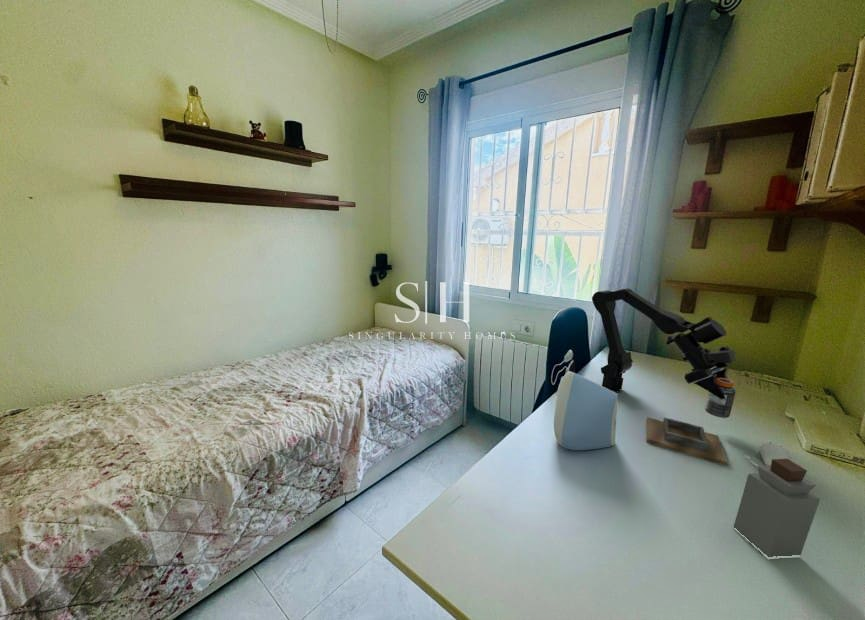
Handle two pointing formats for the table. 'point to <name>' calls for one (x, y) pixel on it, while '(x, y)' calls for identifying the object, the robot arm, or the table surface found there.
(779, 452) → the woman figurine
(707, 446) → the socket plate
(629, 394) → the table surface
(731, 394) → the pill bottle
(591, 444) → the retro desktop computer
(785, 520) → the perfume bottle
